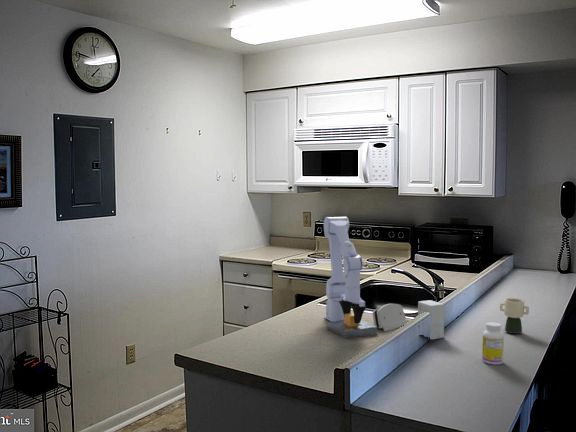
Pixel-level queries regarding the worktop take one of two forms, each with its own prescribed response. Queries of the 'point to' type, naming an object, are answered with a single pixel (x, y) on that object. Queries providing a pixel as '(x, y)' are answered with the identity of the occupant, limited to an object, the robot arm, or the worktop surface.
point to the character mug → (514, 314)
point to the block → (350, 320)
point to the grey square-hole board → (352, 329)
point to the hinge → (389, 317)
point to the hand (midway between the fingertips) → (352, 320)
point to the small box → (434, 317)
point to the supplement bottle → (493, 344)
